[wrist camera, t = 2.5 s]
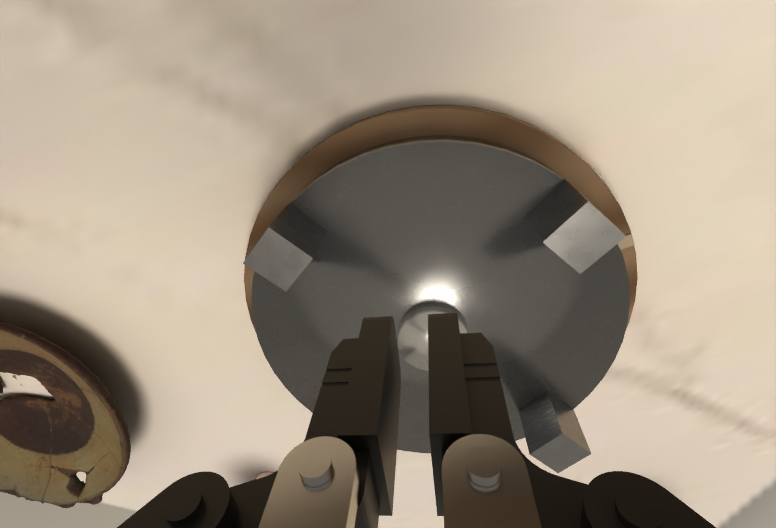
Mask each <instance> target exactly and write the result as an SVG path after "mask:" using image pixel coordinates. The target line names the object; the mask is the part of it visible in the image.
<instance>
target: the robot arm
mask: <svg viewBox="0 0 776 528" xmlns="http://www.w3.org/2000/svg"><path fill="white" fill-rule="evenodd" d="M428 371H429V436H430V446H431V456H432V466H433V476H434V486H435V496H436V506H437V516H444V528H716V527H715V526H713V525H712V524H711V523H709V522H708V521H707V520H705V519H704V518H703V517H702V516H700V515H699V514H698V513H696V512H695V511H694V510H692V509H691V508H690V507H688V506H687V505H686V504H685V503H683V502H682V501H681V500H679V499H678V498H677V497H675V496H674V495H673V494H671V493H670V492H669V491H668V490H666V489H665V488H663V487H662V486H660V485H659V484H657V483H656V482H654V481H652V480H650V479H648V478H646V477H643V476H641V475H637V474H634V473H630V472H623V471H613V472H606V473H604V474H601V475H599V476H597V477H595V478H594V479H593V480H592V481H591V482H590V483H589V485H587V484H584V483H580V482H577V481H573V480H570V479H566V478H563V477H560V476H557V475H554V474H551V473H549V472H547V471H544V470H542V469H541V468H539V467H538V466H536V465H534V464H533V463H532V462H531V461H530V460H528V459H527V458H526V457H525V455H524V454H523V453H522V452H521V451H520V449H519V448H518V446H517V444H516V442H515V439H514V436H513V432H512V428H511V423H510V419H509V414H508V410H507V406H506V401H505V397H504V392H503V388H502V383H501V381H500V374H499V370H498V366H497V361H496V357H495V352H494V348H493V346H492V344H491V343H490V342H489V341H488V340H487V339H486V338H485V337H484V335H483V334H482V333H460V330H459V322H458V314H457V313H444V314H428ZM400 394H401V370H400V360H399V353H398V345H397V338H396V330H395V323H394V318H393V316H386V317H366V318H363V321H362V325H361V329H360V334H359V338H350V339H343V340H342V341H341V342H340V343H339V344H338V346H337V347H336V348H335V349H334V350H333V351H332V352H331V355H330V358H329V361H328V365H327V368H326V372H325V375H324V378H323V381H322V386H321V388H320V391H319V395H318V398H317V401H316V405H315V408H314V411H313V415H312V418H311V421H310V424H309V428H308V431H307V434H306V438H305V440H304V442H303V443H301V444H299V445H298V446H296V447H295V448H294V449H293V450H292V451H290V452H289V453H288V455H287V456H286V457H285V458H284V460H283V461H282V463H281V465H280V467H279V470H278V471H276V472H274V473H272V474H270V475H267V476H265V477H262V478H259V479H256V480H253V481H249V482H246V483H243V484H240V485H237V486H233V487H230V488H229V486H228V484H227V482H226V480H225V479H224V478H223V477H222V476H220V475H219V474H216V473H213V472H198V473H194V474H190V475H187V476H185V477H183V478H181V479H179V480H177V481H176V482H174V483H173V484H171V485H170V486H168V487H167V488H166V489H165V490H163V491H162V492H161V493H160V494H158V495H157V496H156V497H155V498H153V499H152V500H151V501H150V502H148V503H147V504H146V505H145V506H143V507H142V508H141V509H140V510H138V511H137V512H136V513H135V514H134V515H132V516H131V517H130V518H128V519H127V520H126V521H125V522H124V523H122V524H121V525H120V526H119V527H117V528H378V518H379V515H383V516H392V510H393V495H394V481H395V466H396V452H397V437H398V423H399V408H400Z"/></svg>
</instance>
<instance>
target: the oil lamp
mask: <svg viewBox="0 0 776 528" xmlns="http://www.w3.org/2000/svg"><path fill="white" fill-rule="evenodd" d="M0 372H4V373H6V372H8V373H12V374H17V375H27V376H32V377H34V378H36V379H37V380H38V381H40V382H41V385H43V386H44V387H45V388H46V390H48V392H49V393H50V394H51V395H53V397H54V399H55V400H50V399H46V398H45V399H43V398H39V397H33V396H24V395H22V396H19V395H18V396H15V397H12V396H10V397H6V398H4V399H2V400H0V491H1V492H5V493H8V494H12V495H15V496H17V497H24V498H26V500H31V501H40V502H42V503H45V502H47V503H50V504H54V505H57V506H60V507H62V508H69V507H72V506H74V505H75V503H78V502H79V503H90V504H93V505H94V504H98V503H100V502H101V501H102V495H103V493H105V492H107V491H109V490H110V489H111V488H112V487H114V486H115V484H116V483H117V482H118V481H119V480H120V478H121V477H122V476H123V474H124V473H125V470H126V468H127V465H128V463H129V458H130V450H131V445H130V436H129V432H128V427H127V424H126V422H125V420H124V418H123V416H122V414H121V412H120V410H119V408H118V406H117V404H116V402H115V401H114V399H113V397H112V395H111V394H110V392H109V390H108V389H107V388H106V386H105V385H104V384H103V382H102V381H101V380H100V379H99V378H98V377H97V376H96V375H95V374H94V373H93V372H92V371H91V370H90V369H89V368H88V367H86V366H85V365H84V364H83V363H82V362H81V361H80V360H78V359H77V358H76V357H74V356H73V355H72V354H70V353H69V352H67V351H66V350H64V349H63V348H61V347H59V346H58V345H56V344H54V343H53V342H51V341H49V340H47V339H45V338H43V337H41V336H39V335H37V334H35V333H33V332H31V331H28V330H25V329H23V328H20V327H17V326H14V325H11V324H8V323H5V322H1V321H0ZM13 377H14V378H15V379H16V377H15V375H14V376H13ZM0 393H3V386H2V385H1V383H0ZM80 471H82V472H85V473H86V475H87V476H86V483H84V481H80V480H79V479H78V477H77V476H76V473H77V472H80Z"/></svg>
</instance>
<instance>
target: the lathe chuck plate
mask: <svg viewBox="0 0 776 528" xmlns="http://www.w3.org/2000/svg"><path fill="white" fill-rule="evenodd" d="M625 237H626V235H625V234H623V233H622V232H621V231H620V230H619V229H618V228H617V227H616V226H615V225H614V224H613V223H612V222H611V221H610V220H609V219H608V218H607V217H606V216H605V215H604V214H603V213H602V212H601V211H600V210H599V209H597V208H596V207H595V206H594V205H593V204H592V203H591V202H590V201H589V200H588V199H587V198H585V197H584V196H583V195H582V194H581V193H580V192H579V191H578V190H577V189H576V188H575V187H574V186H573V185H572V184H571V183H570V182H568V181H567V180H566V179H564V178H563V177H562V176H561V175H559V174H558V173H557V172H556V171H554V170H553V169H552V168H550V167H549V166H547V165H545V164H543V163H542V162H540V161H538V160H536V159H535V158H533V157H531V156H529V155H528V154H525V153H523V152H520V151H517V150H515V149H512V148H510V147H507V146H505V145H502V144H498V143H494V142H490V141H486V140H481V139H477V138H471V137H460V136H450V135H436V136H416V137H410V138H404V139H399V140H393V141H389V142H385V143H382V144H379V145H376V146H373V147H370V148H366V149H364V150H362V151H359V152H357V153H355V154H353V155H351V156H349V157H347V158H345V159H343V160H341V161H339V162H338V163H336V164H334V165H333V166H331V167H330V168H328V169H327V170H325V171H324V172H322V173H321V174H319V175H318V176H317V177H316V178H315V179H314V180H313V181H312V182H310V183H309V184H308V185H307V186H306V187H305V188H304V189H302V190H301V192H300V193H299V194H298V195H297V196H296V198H295V199H294V200H293V201H292V202H291V204H290V203H289V204H288V205H287V206H286V207H285V208H284V210H283V211H282V212H281V213H280V214H279V215H278V217H277V218H276V219H275V220H274V221H273V223H272V224H271V225H270V226H269V227H268V229H267V230H266V232H265V233H264V234H263V236H262V237H261V239H260V240H259V241H258V243H257V244H256V246H255V247H254V249H253V250H252V251H251V253H250V254H249V256H248V257H247V258H246V260H245V261H244V263H243V264H245V265H246V266H248V267H249V268H251V269H252V270H254V271H255V272H254V276H253V282H252V297H251V302H252V313H253V321H254V325H255V329H256V333H257V337H258V340H259V343H260V345H261V348H262V350H263V353H264V355H265V357H266V359H267V361H268V362H269V364H270V366H271V368H272V369H273V371H274V373H275V374H276V375H277V377H278V378H279V379H280V381H281V382H282V383H283V385H284V386H285V387H286V388H287V389H288V390H289V391H290V393H291V394H292V395H293V396H294V397H295V398H296V399H297V400H298V401H299V402H300V403H302V404H303V405H304V406H305V407H306V408H308V409H309V410H310V411H311V412H312V413H313V411H314V408H315V405H316V401H317V398H318V395H319V391H320V388H321V386H322V381H323V378H324V375H325V372H326V368H327V365H328V361H329V358H330V355H331V352H332V351H333V350H334V349H335V348H336V347H337V346H338V344H339V343H340V342H341V341H342V340H343V339H350V338H359V334H360V329H361V325H362V321H363V318H366V317H386V316H393V318H394V323H395V330H396V338H397V345H398V353H399V360H400V370H401V394H400V408H399V423H398V437H397V449H398V450H403V451H411V452H419V453H431V446H430V436H429V371H428V314H444V313H457V314H458V322H459V330H460V333H482V334H483V335H484V337H485V338H486V339H487V340H488V341H489V342H490V343H491V344H492V346H493V348H494V352H495V357H496V361H497V366H498V370H499V374H500V381H501V383H502V388H503V392H504V397H505V401H506V406H507V410H508V414H509V419H510V423H511V428H512V432H513V436H514V439H515V441H516V440H519V439H522V438H524V437H525V438H526V442H527V445H528V449H529V453H530V455H532V456H533V457H535V458H536V459H538V460H539V461H541V462H542V463H544V464H545V465H547V466H548V467H550V468H551V469H553V470H554V471H556V472H557V473H559V472H561V471H563V470H564V469H566V468H568V467H569V466H571V465H573V464H575V463H576V462H578V461H580V460H581V459H583V458H585V457H586V456H588V455H590V454H591V452H590V449H589V447H588V444H587V442H586V439H585V437H584V434H583V432H582V430H581V427H580V425H579V422H578V420H577V417H576V415H575V412H574V410H573V409H574V408H575V407H576V406H577V405H578V404H580V403H581V402H582V401H583V400H584V399H585V398H586V397H587V396H588V395H589V394H590V393H591V392H592V391H593V390H594V388H595V387H596V386H597V385H598V384H599V382H600V381H601V380H602V379H603V377H604V376H605V374H606V373H607V371H608V370H609V368H610V366H611V365H612V363H613V362H614V360H615V358H616V355H617V353H618V351H619V348H620V346H621V344H622V342H623V338H624V334H625V331H626V327H627V323H628V316H629V306H630V291H629V278H628V274H627V270H626V266H625V262H624V258H623V255H622V252H621V250H620V248H619V245H618V243H619V242H620V241H622V240H623V239H624V238H625Z"/></svg>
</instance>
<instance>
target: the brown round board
mask: <svg viewBox="0 0 776 528" xmlns="http://www.w3.org/2000/svg"><path fill="white" fill-rule="evenodd" d="M436 135H450V136H460V137H471V138H477V139H481V140H486V141H490V142H494V143H498V144H502V145H505V146H507V147H510V148H512V149H515V150H517V151H520V152H523V153H525V154H528V155H529V156H531V157H533V158H535V159H536V160H538V161H540V162H542V163H543V164H545V165H547V166H549V167H550V168H552V169H553V170H554V171H556V172H557V173H558V174H559V175H561V176H562V177H563V178H564V179H566V180H567V181H568V182H570V183H571V184H572V185H573V186H574V187H575V188H576V189H577V190H578V191H579V192H580V193H581V194H582V195H583V196H584V197H585V198H587V199H588V200H589V201H590V202H591V203H592V204H593V205H594V206H595V207H596V208H597V209H599V210H600V211H601V212H602V213H603V214H604V215H605V216H606V217H607V218H608V219H609V220H610V221H611V222H612V223H613V224H614V225H615V226H616V227H617V228H618V229H619V230H620V231H621V232H622V233H623V234H625V235H626V237H625V238H624V239H623V240H622V241H620V242H619V243H618V245H619V248H620V250H621V252H622V255H623V258H624V262H625V266H626V270H627V274H628V278H629V291H630V306H629V316H628V323H629V321H630V317H631V313H632V309H633V306H634V302H635V295H636V286H637V263H636V252H635V248H634V241H633V238H632V234H631V231H630V228H629V226H628V223H627V221H626V219H625V216H624V214H623V212H622V209H621V207H620V205H619V204H618V202H617V201H616V199H615V198H614V196H613V194H612V193H611V191H610V190H609V188H608V187H607V185H606V184H605V183H604V182H603V180H602V179H601V178H600V177H599V176H598V175H597V174H596V173H595V172H594V170H593V169H592V168H591V167H590V166H589V165H588V164H587V163H586V162H584V161H583V160H582V159H581V158H580V157H578V156H577V155H576V154H575V153H573V152H572V151H571V150H570V149H568V148H567V147H566V146H565V145H563V144H562V143H561V142H559V141H558V140H556V139H555V138H553V137H551V136H550V135H548V134H546V133H544V132H543V131H541V130H539V129H538V128H536V127H534V126H532V125H530V124H527V123H525V122H522V121H520V120H517V119H515V118H512V117H510V116H507V115H505V114H501V113H496V112H492V111H488V110H484V109H480V108H474V107H464V106H453V105H432V106H415V107H409V108H404V109H398V110H393V111H388V112H385V113H382V114H379V115H375V116H372V117H369V118H366V119H363V120H360V121H358V122H356V123H354V124H352V125H350V126H348V127H346V128H344V129H342V130H340V131H338V132H336V133H334V134H333V135H332V136H330V137H329V138H327V139H326V140H324V141H323V142H321V143H320V144H318V145H317V146H315V147H314V148H313V149H312V150H311V151H310V152H308V153H307V154H306V155H305V156H304V157H303V158H302V159H301V160H300V161H299V162H298V163H297V164H295V165H294V166H293V167H292V168H291V169H290V170H289V171H288V172H287V173H286V174H285V175H284V177H283V178H282V179H281V180H280V182H279V183H278V184H277V185H276V187H275V188H274V189H273V190H272V192H271V193H270V195H269V196H268V198H267V200H266V202H265V203H264V205H263V207H262V209H261V210H260V212H259V214H258V216H257V219H256V221H255V224H254V227H253V229H252V232H251V235H250V238H249V243H248V248H247V252H246V257H245V260H246V258H247V257H248V256H249V254H250V253H251V251H252V250H253V249H254V247H255V246H256V244H257V243H258V241H259V240H260V239H261V237H262V236H263V234H264V233H265V232H266V230H267V229H268V227H269V226H270V225H271V224H272V223H273V221H274V220H275V219H276V218H277V217H278V215H279V214H280V213H281V212H282V211H283V210H284V208H285V207H286V206H287V205H288V204H289V203H290V204H291V202H292V201H293V200H294V199H295V198H296V196H297V195H298V194H299V193H300V192H301V190H302V189H304V188H305V187H306V186H307V185H308V184H309V183H310V182H312V181H313V180H314V179H315V178H316V177H317V176H318V175H319V174H321V173H322V172H324V171H325V170H327V169H328V168H330V167H331V166H333V165H334V164H336V163H338V162H339V161H341V160H343V159H345V158H347V157H349V156H351V155H353V154H355V153H357V152H359V151H362V150H364V149H366V148H370V147H373V146H376V145H379V144H382V143H385V142H389V141H393V140H399V139H404V138H410V137H416V136H436ZM254 272H255V271H254V270H252V269H251V268H249V267H248V266H246V265H245V273H244V283H245V293H246V302H247V306H248V310H249V314H250V318H251V321H252V324H253V326H254V329H255V325H254V321H253V313H252V302H251V297H252V282H253V276H254ZM628 323H627V326H628ZM626 328H627V327H626ZM255 331H256V329H255ZM256 334H257V333H256Z"/></svg>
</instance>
